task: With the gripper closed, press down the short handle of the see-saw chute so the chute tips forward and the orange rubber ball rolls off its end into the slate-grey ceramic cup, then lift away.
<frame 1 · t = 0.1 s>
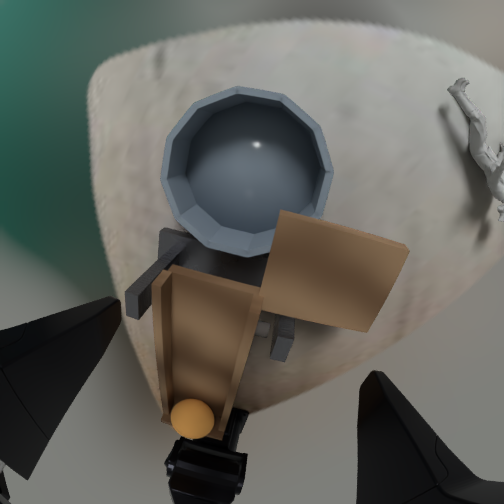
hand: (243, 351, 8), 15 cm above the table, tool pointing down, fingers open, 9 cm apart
ball: (192, 418, 21), point 8 cm above the table, tilted 18°, touching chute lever
lever stand: (230, 271, 24), on the table
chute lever: (243, 367, 18), point 8 cm above the table, hinge at -5.1°, touching ball
cup: (251, 168, 20), on the table
soldier figure: (474, 146, 16), on the table
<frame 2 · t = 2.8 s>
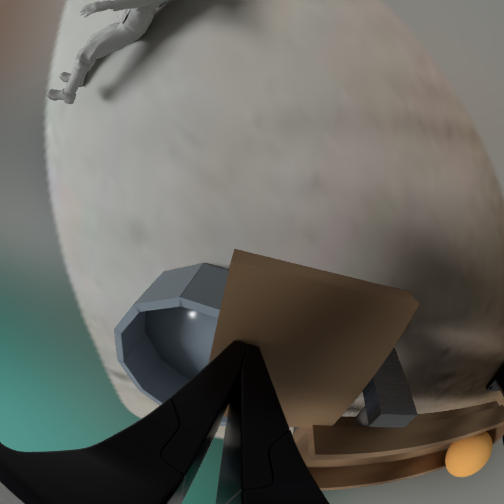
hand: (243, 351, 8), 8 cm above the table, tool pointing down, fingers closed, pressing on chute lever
ball: (469, 453, 10), point 8 cm above the table, tilted 17°
lever stand: (332, 366, 18), on the table
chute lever: (415, 433, 10), point 8 cm above the table, hinge at -5.0°, touching gripper
cup: (212, 336, 18), on the table
soldier figure: (139, 29, 11), on the table
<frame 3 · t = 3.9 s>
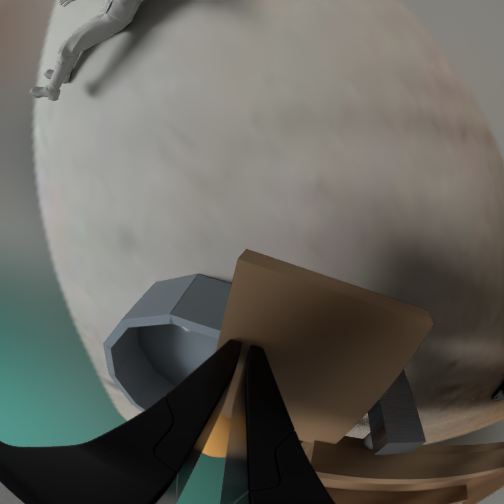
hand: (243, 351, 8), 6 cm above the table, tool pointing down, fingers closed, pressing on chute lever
ball: (219, 423, 12), point 5 cm above the table, tilted 157°
lever stand: (335, 381, 17), on the table
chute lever: (421, 465, 8), point 8 cm above the table, hinge at 7.0°, touching gripper
cup: (208, 350, 17), on the table
soldier figure: (125, 20, 10), on the table
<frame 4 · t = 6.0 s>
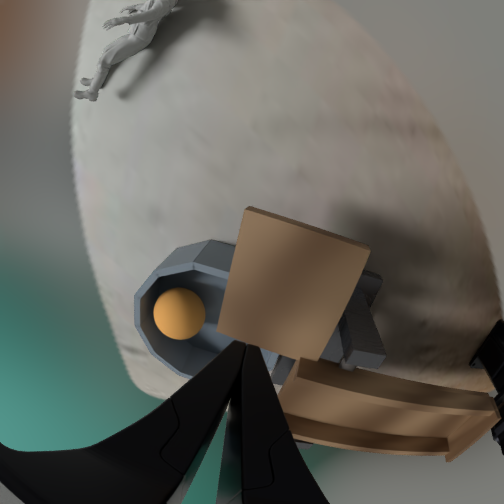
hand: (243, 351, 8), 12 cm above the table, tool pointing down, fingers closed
ball: (179, 313, 20), point 2 cm above the table, tilted 64°, touching cup
lever stand: (320, 333, 22), on the table
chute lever: (391, 389, 13), point 8 cm above the table, hinge at 7.1°
cup: (216, 305, 22), on the table
soldier figure: (145, 39, 15), on the table
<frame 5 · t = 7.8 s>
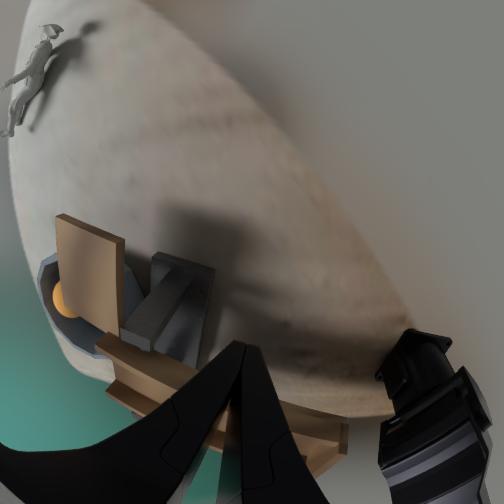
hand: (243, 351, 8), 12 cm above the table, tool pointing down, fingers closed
ball: (71, 297, 22), point 2 cm above the table, tilted 79°, touching cup
lever stand: (177, 322, 24), on the table
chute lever: (178, 378, 15), point 8 cm above the table, hinge at 7.1°
cup: (98, 291, 24), on the table
soldier figure: (41, 82, 17), on the table
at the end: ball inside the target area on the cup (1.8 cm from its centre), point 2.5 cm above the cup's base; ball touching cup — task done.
